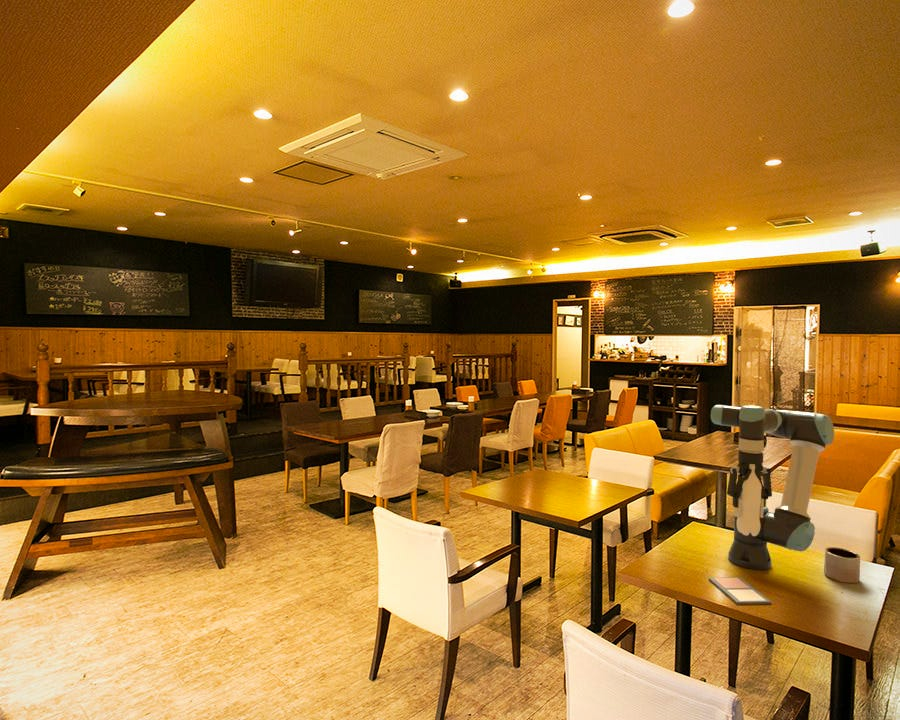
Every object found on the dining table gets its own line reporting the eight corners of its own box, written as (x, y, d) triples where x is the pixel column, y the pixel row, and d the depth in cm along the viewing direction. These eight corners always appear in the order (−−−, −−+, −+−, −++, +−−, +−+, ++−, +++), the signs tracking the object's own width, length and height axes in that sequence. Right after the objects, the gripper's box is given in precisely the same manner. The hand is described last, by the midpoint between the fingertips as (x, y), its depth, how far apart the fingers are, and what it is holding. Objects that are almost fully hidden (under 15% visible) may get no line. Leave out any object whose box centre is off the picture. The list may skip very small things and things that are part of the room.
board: (740, 579, 195) (740, 577, 195) (771, 603, 177) (771, 601, 177) (708, 579, 195) (708, 577, 195) (736, 604, 177) (736, 601, 177)
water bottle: (731, 530, 184) (734, 460, 183) (751, 529, 184) (753, 459, 183) (745, 537, 177) (747, 464, 176) (765, 537, 177) (767, 464, 176)
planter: (854, 574, 200) (856, 550, 200) (863, 586, 190) (864, 560, 190) (820, 569, 205) (821, 545, 204) (827, 580, 195) (828, 555, 195)
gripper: (772, 448, 183) (769, 512, 184) (716, 448, 183) (714, 512, 184) (786, 453, 176) (784, 520, 177) (728, 453, 175) (726, 520, 176)
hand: (748, 516), depth 180 cm, fingers closed on water bottle, 7 cm apart
